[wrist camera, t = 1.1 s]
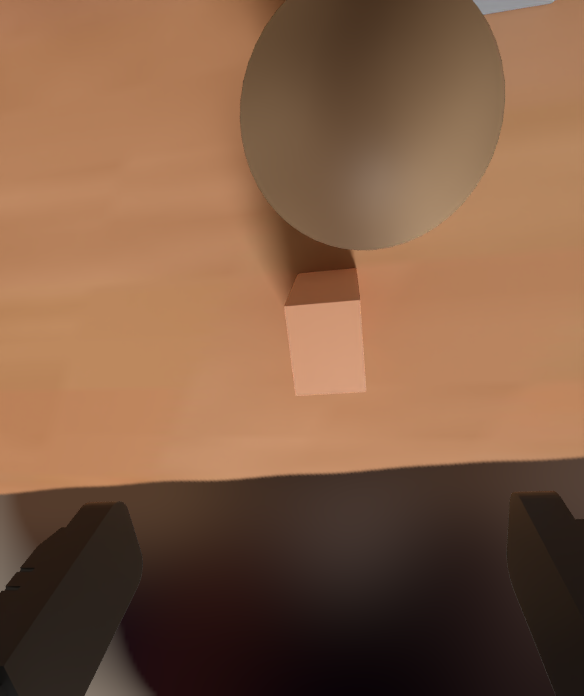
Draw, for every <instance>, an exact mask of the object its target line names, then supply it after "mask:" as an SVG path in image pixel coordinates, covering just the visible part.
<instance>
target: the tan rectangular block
mask: <svg viewBox="0 0 584 696" xmlns="http://www.w3.org/2000/svg"><path fill="white" fill-rule="evenodd" d="M284 310H285V317H286V325H287V333H288V341H289V348H290V356H291V364H292V371H293V379H294V387H295V395H296V396H303V395H320V394H338V393H355V392H366V379H365V365H364V350H363V335H362V320H361V305H360V295H359V286H358V278H357V270H356V268H350V269H339V270H329V271H318V272H308V273H298V275H297V277H296V279H295V282H294V284H293V286H292V289H291V291H290V294H289V296H288V298H287V301H286V303H285V305H284Z"/></svg>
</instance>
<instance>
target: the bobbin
mask: <svg viewBox="0 0 584 696" xmlns="http://www.w3.org/2000/svg"><path fill="white" fill-rule="evenodd" d="M504 105H505V79H504V73H503V66H502V60H501V56H500V53H499V49H498V46H497V42H496V40H495V37H494V35H493V33H492V31H491V28H490V26H489V24H488V22H487V20H486V19H485V17H484V16H483V14H482V12H481V11H480V9H479V8H478V6H477V5H476V4H475V3H474V2H473V0H286V1H285V2H284V3H283V4H282V5H281V6H280V8H279V9H278V10H277V11H276V12H275V14H274V15H273V16H272V18H271V19H270V21H269V22H268V23H267V25H266V26H265V28H264V30H263V32H262V34H261V35H260V37H259V39H258V41H257V43H256V45H255V47H254V50H253V52H252V55H251V57H250V60H249V62H248V66H247V70H246V73H245V77H244V81H243V87H242V94H241V104H240V124H241V136H242V142H243V146H244V151H245V156H246V159H247V162H248V165H249V168H250V171H251V173H252V175H253V177H254V179H255V181H256V183H257V186H258V187H259V189H260V191H261V192H262V194H263V195H264V197H265V198H266V200H267V201H268V203H269V204H270V205H271V206H272V207H273V209H274V210H275V211H276V212H277V213H278V214H279V215H280V216H281V217H282V218H283V219H284V220H285V221H286V222H287V223H288V224H290V225H291V226H293V227H294V228H295V229H297V230H298V231H299V232H301V233H303V234H304V235H306V236H308V237H310V238H312V239H314V240H316V241H319V242H321V243H324V244H327V245H330V246H334V247H338V248H342V249H351V250H377V249H383V248H389V247H393V246H396V245H400V244H403V243H406V242H409V241H411V240H413V239H415V238H418V237H420V236H422V235H424V234H425V233H427V232H429V231H430V230H432V229H434V228H435V227H437V226H438V225H439V224H441V223H442V222H443V221H445V220H446V219H447V218H448V217H450V216H451V215H452V214H453V213H454V212H455V211H456V210H457V209H458V208H459V207H460V206H461V205H462V204H463V203H464V202H465V200H466V199H467V198H468V197H469V195H470V194H471V193H472V192H473V190H474V189H475V187H476V186H477V184H478V183H479V181H480V180H481V178H482V176H483V175H484V173H485V171H486V169H487V167H488V165H489V163H490V161H491V159H492V156H493V154H494V151H495V148H496V145H497V142H498V139H499V135H500V131H501V126H502V122H503V115H504Z"/></svg>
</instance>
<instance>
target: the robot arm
mask: <svg viewBox="0 0 584 696" xmlns="http://www.w3.org/2000/svg"><path fill="white" fill-rule="evenodd" d="M507 536H508V537H507V552H506V555H507V565H508V571H509V576H510V580H511V583H512V586H513V589H514V592H515V594H516V597H517V599H518V602H519V604H520V607H521V609H522V612H523V614H524V617H525V619H526V622H527V624H528V627H529V629H530V632H531V634H532V637H533V640H534V642H535V645H536V647H537V650H538V652H539V655H540V657H541V659H542V662H543V664H544V667H545V670H546V672H547V675H548V677H549V680H550V682H551V685H552V687H553V690H554V692H555V695H556V696H584V519H576V520H575V519H574V517H573V515H572V514H571V512H570V511H569V509H568V508H567V507H566V505H565V503H564V502H563V500H562V499H561V497H560V496H559V495H558V494H557V493H556V492H555V491H536V492H513V493H512V494H511V496H510V502H509V518H508V535H507ZM142 565H143V560H142V554H141V550H140V547H139V544H138V540H137V537H136V534H135V531H134V527H133V524H132V521H131V518H130V514H129V511H128V508H127V506H126V505H125V504H124V503H123V502H120V501H118V502H89V503H86V504H85V505H83V506H82V507H81V508H80V510H79V511H78V513H77V514H76V515H75V516H74V518H73V519H72V520H71V521H70V523H69V524H68V525H67V527H65V528H64V527H63V528H60V529H59V530H58V531H56V532H55V533H54V534H53V535H51V536H50V537H49V538H48V539H47V540H45V541H44V542H42V543H41V544H40V545H39V546H38V547H37V548H36V549H35V550H34V551H33V553H32V554H31V555H30V557H29V558H28V559H27V560H26V561H25V563H24V564H23V565H22V566H21V570H20V572H17V573H16V574H15V575H14V576H13V578H12V579H11V580H10V581H9V583H8V584H7V585H6V589H5V591H1V593H0V696H84V695H85V693H86V691H87V689H88V687H89V685H90V683H91V681H92V679H93V677H94V675H95V673H96V671H97V669H98V667H99V665H100V663H101V661H102V658H103V657H104V654H105V653H106V651H107V648H108V646H109V644H110V642H111V640H112V638H113V636H114V634H115V632H116V630H117V628H118V626H119V624H120V622H121V620H122V618H123V616H124V614H125V612H126V610H127V608H128V606H129V604H130V602H131V599H132V597H133V595H134V593H135V591H136V589H137V587H138V585H139V582H140V579H141V574H142V567H143V566H142Z"/></svg>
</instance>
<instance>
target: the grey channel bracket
mask: <svg viewBox="0 0 584 696" xmlns="http://www.w3.org/2000/svg"><path fill="white" fill-rule="evenodd" d="M554 1H555V0H473V2H474V3H475V4H476V5H477V6H478V8H479V9H480V11H481V12H482V14H483V15H484V14H490V13H496V12H502V11H508V10H514V9H520V8H526V7H532V6H538V5H544V4H550V3H552V2H554Z"/></svg>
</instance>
